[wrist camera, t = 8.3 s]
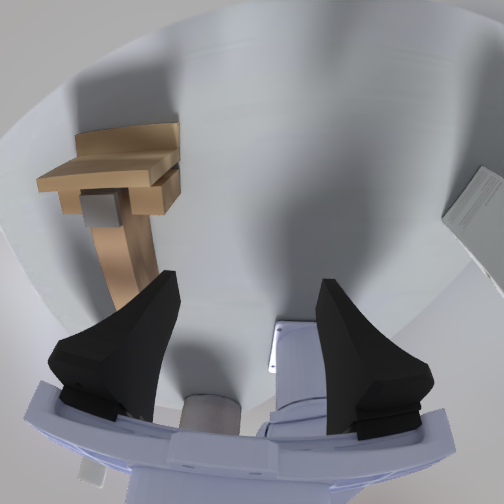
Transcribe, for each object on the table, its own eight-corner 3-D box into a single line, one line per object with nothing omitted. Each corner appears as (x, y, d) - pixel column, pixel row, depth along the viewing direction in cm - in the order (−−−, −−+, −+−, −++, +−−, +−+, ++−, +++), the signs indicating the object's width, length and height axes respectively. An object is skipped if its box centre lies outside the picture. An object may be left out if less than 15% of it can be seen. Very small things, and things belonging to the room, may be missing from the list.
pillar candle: (226, 420, 44) (219, 492, 31) (177, 405, 41) (162, 480, 29) (252, 403, 39) (248, 488, 26) (195, 386, 37) (179, 477, 24)
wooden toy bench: (182, 193, 21) (155, 229, 16) (87, 194, 21) (47, 226, 16) (179, 122, 18) (145, 135, 13) (78, 133, 18) (31, 153, 13)
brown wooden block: (164, 302, 27) (150, 338, 23) (139, 299, 27) (122, 334, 23) (143, 168, 20) (113, 191, 15) (111, 170, 20) (78, 193, 15)
